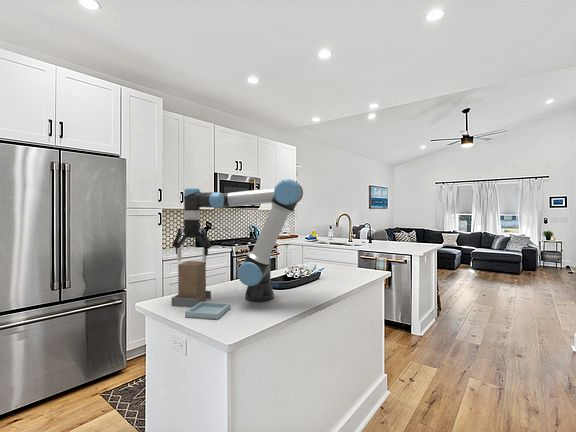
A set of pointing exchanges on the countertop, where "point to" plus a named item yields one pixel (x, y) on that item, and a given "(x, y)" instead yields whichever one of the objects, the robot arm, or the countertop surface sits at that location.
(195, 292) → the wooden block
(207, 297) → the bay
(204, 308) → the tray
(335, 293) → the countertop surface
